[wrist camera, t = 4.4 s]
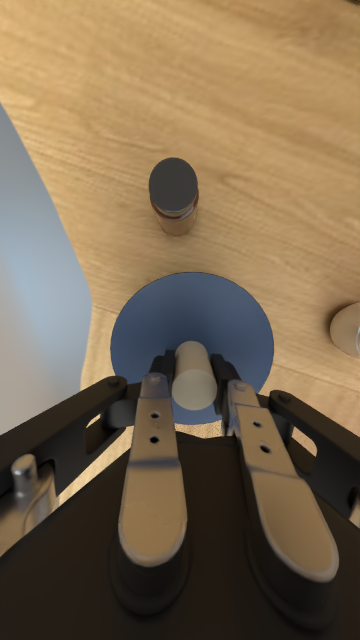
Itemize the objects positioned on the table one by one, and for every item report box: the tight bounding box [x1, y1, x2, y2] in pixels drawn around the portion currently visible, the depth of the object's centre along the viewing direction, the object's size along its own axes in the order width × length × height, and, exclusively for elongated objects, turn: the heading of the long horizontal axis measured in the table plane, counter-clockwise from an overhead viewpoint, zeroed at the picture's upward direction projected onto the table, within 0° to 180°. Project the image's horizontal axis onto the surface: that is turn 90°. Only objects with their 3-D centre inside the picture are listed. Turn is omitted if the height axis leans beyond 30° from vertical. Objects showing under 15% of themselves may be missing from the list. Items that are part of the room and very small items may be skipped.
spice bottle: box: [149, 158, 199, 236], centre depth 18 cm, size 4×4×8 cm
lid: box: [110, 272, 274, 425], centre depth 13 cm, size 13×13×6 cm
